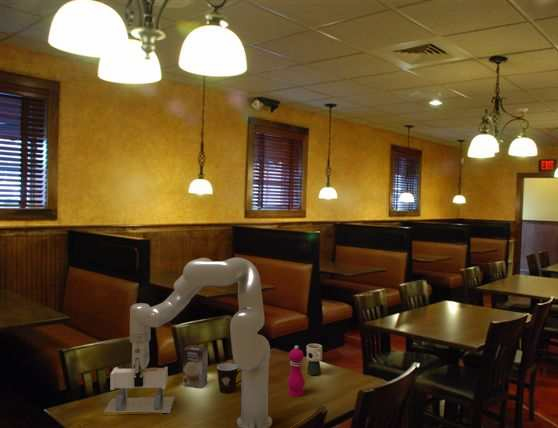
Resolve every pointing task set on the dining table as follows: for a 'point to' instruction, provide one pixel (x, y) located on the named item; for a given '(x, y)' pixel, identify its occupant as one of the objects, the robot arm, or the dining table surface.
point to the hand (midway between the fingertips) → (139, 383)
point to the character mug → (314, 358)
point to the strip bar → (150, 378)
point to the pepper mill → (296, 373)
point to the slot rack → (140, 403)
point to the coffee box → (195, 366)
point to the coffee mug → (227, 377)
